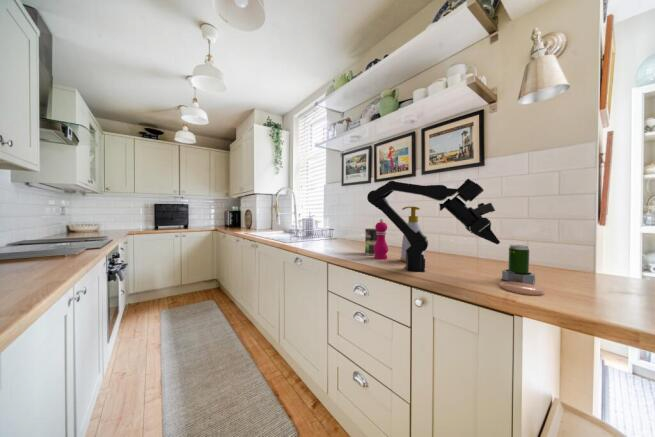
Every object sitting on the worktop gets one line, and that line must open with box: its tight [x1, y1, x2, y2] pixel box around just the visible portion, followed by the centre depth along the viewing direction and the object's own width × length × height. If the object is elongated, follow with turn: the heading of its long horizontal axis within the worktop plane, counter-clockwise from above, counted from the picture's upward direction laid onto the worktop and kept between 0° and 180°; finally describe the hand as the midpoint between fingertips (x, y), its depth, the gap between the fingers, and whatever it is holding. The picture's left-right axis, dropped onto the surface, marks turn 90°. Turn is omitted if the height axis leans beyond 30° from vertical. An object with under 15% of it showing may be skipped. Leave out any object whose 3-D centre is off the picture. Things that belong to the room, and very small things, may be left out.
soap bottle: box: [400, 206, 425, 263], centre depth 111 cm, size 11×12×26 cm
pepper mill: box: [374, 218, 389, 260], centre depth 118 cm, size 7×7×20 cm
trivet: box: [500, 280, 545, 296], centre depth 69 cm, size 10×10×1 cm
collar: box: [501, 268, 536, 285], centre depth 79 cm, size 8×8×3 cm
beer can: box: [507, 244, 530, 275], centre depth 79 cm, size 5×5×12 cm
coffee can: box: [364, 228, 377, 257], centre depth 130 cm, size 10×10×14 cm
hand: (495, 242), depth 81 cm, fingers open, 9 cm apart
